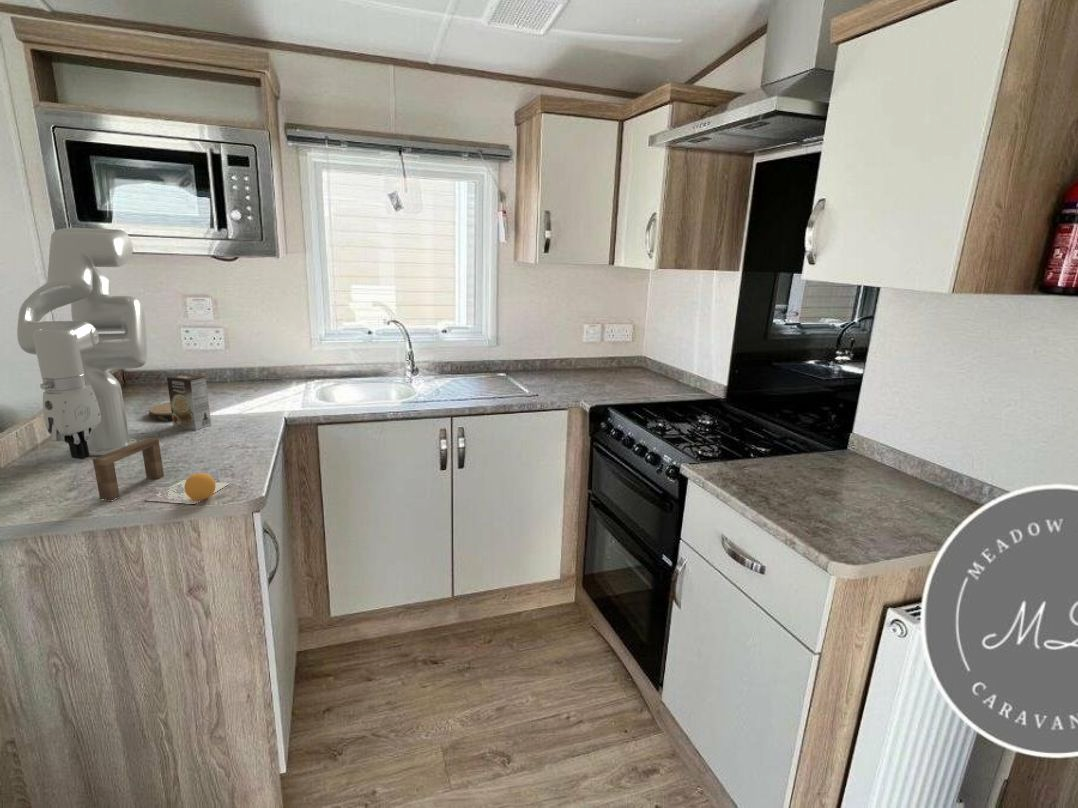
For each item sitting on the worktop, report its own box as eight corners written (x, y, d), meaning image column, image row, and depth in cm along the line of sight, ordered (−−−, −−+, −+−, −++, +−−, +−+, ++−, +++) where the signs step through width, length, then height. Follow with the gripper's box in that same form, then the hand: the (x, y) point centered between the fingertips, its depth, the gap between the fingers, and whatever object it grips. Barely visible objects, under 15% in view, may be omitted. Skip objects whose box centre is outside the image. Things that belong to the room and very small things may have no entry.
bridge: (100, 500, 127) (92, 459, 124) (153, 475, 141) (147, 437, 138) (112, 501, 126) (105, 460, 124) (164, 476, 141) (158, 438, 138)
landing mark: (144, 501, 127) (144, 500, 127) (183, 480, 138) (183, 479, 138) (194, 505, 125) (194, 504, 125) (229, 484, 137) (229, 483, 137)
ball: (196, 509, 126) (174, 494, 127) (217, 497, 132) (196, 482, 132) (204, 490, 124) (181, 475, 124) (224, 478, 129) (203, 463, 130)
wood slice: (177, 424, 182) (175, 415, 181) (137, 419, 186) (136, 410, 185) (216, 411, 197) (215, 403, 196) (179, 407, 201) (178, 399, 200)
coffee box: (172, 427, 178) (164, 376, 174) (189, 421, 184) (182, 372, 180) (196, 430, 175) (189, 379, 171) (212, 424, 181) (206, 375, 177)
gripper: (48, 393, 122) (66, 472, 127) (108, 375, 136) (121, 447, 141) (17, 390, 123) (36, 468, 128) (79, 373, 137) (94, 444, 142)
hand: (80, 457), depth 135 cm, fingers closed
